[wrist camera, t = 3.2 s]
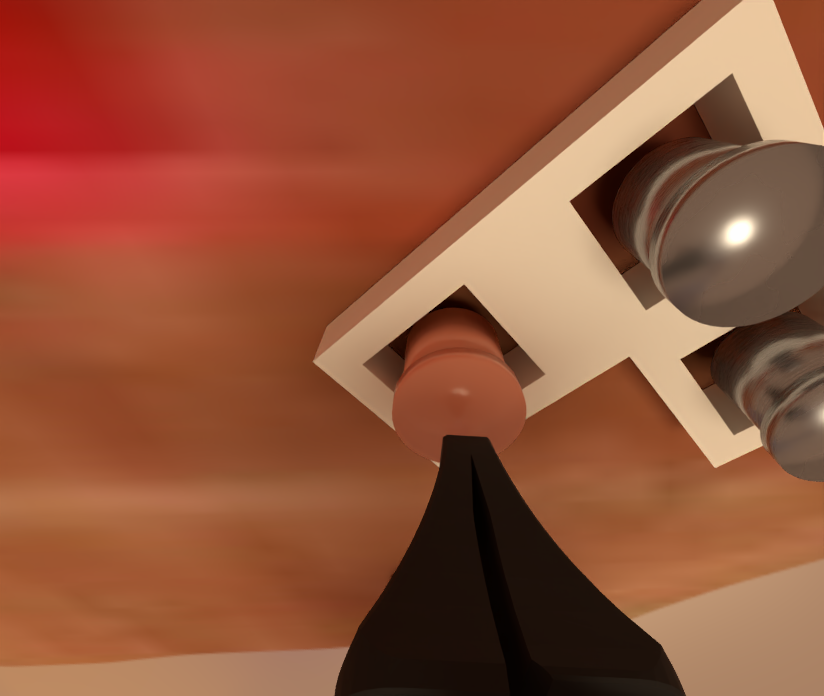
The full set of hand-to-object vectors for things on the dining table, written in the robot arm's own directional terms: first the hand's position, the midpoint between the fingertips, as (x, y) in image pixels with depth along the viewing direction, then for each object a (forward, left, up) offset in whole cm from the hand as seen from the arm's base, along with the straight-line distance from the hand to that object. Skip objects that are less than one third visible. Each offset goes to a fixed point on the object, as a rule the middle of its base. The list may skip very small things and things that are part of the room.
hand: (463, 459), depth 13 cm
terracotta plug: (0, 0, -6) cm, 6 cm away
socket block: (-4, -5, -8) cm, 10 cm away
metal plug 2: (-8, -9, -6) cm, 14 cm away
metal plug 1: (0, -10, -5) cm, 11 cm away
